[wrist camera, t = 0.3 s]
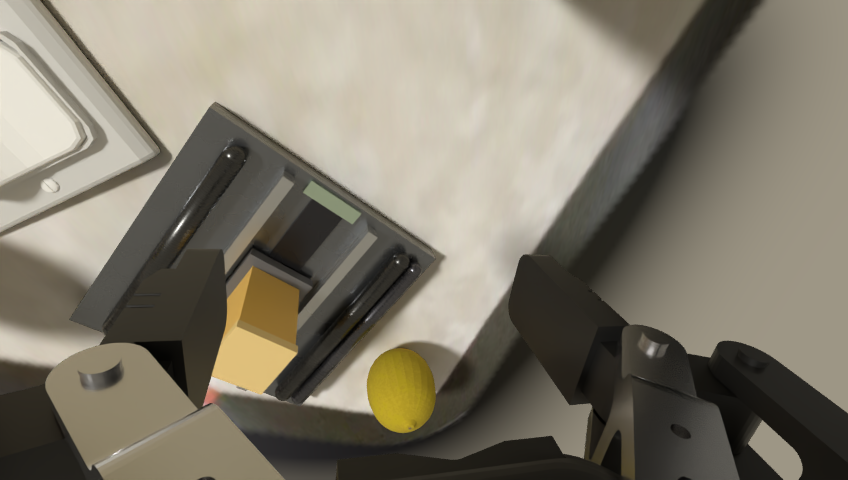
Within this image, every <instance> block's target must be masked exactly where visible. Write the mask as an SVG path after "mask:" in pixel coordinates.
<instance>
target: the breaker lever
mask: <svg viewBox="0 0 848 480" xmlns="http://www.w3.org/2000/svg"><path fill="white" fill-rule="evenodd" d="M312 287H313V281H312V280H310V279H309V278H307V277H305V276H303V275H301V274H299V273H297V272H296V271H294V270H292V269H290V268H288V267H286V266H284V265H283V264H281V263H279V262H277V261H275V260H273V259H271V258H270V257H268V256H266V255H264V254H262V253H260V252H258V251H257V250H255V249H253V248H252V249H251V250H250V251H249V253H248V254H247V255H246V257H245V258H244V259H243V260H242V262H241V263H240V264H239V266H238V267H237V268H236V270H235V271H234V272H233V274H232V275H231V276H230V277H229V279H228V280H227V281H226V293H227V320H226V327H225V331H224V334H223V338H222V341H221V345H220V348H219V352H218V355H217V358H216V362H215V365H214V369H213V372H212V377H215V378H218V379H220V380H223V381H226V382H228V383H231V384H234V385H236V386H239V387H242V388H245V389H247V390H250V391H253V392H255V393H258V394H262V393H263V392H264V391H265V390H266V389H267V388H268V386H269V385H270V384H271V383H272V382H273V381H274V380H275V378H276V377H277V376H278V375H279V374H280V373H281V372H282V370H283V369H284V368H285V367H286V366H287V365H288V364H289V362H290V361H291V360H292V359H293V358H294V357H295V356H296V354H297V353H298V346H297V345H296V334H297V319H298V305H299V302H300V301H301V300H302V299H303V298H304V297H305V295H306V294H307V293H308V292H309V291H310V289H311V288H312Z"/></svg>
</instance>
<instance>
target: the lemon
mask: <svg viewBox="0 0 848 480" xmlns="http://www.w3.org/2000/svg"><path fill="white" fill-rule="evenodd" d="M367 393H368V400H369V403H370V406H371V408H372V411H373V413H374V415H375V417H376V418H377V420H378V421H379V422H380V423H381V424H382V425H383V426H384V427H386V428H387V429H389V430H391V431H395V432H399V433H406V432H411V431H414V430H416V429H418V428H420V427H421V426H422V425H424V424H425V422H426V421H427V420H428V419H429V417H430V416H431V414H432V412H433V409H434V404H435V397H436V392H435V384H434V378H433V375H432V372H431V370H430V368H429V366H428V365H427V363H426V361H425V360H424V359H423V358H422V357H421V356H420V355H419V354H417V353H416V352H414V351H412V350H409V349H405V348H396V349H391V350H388V351H386V352H384V353H383V354H381V355H380V356H379V357H378V358H377V359H376V360H375V361H374V363H373V365H372V366H371V368H370V371H369V375H368V379H367Z"/></svg>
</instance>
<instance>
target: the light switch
mask: <svg viewBox="0 0 848 480" xmlns="http://www.w3.org/2000/svg"><path fill="white" fill-rule="evenodd" d="M159 152H160V150H159V147H158V146H157V145H156V144H155V142H154V141H153V140H152V139H151V137H150V136H149V135H148V134H147V132H146V131H145V130H144V129H143V127H142V126H141V125H140V124H139V122H138V121H137V120H136V119H135V117H134V116H133V115H132V114H131V113H130V111H129V110H128V109H127V108H126V106H125V105H124V104H123V103H122V101H121V100H120V99H119V98H118V96H117V95H116V94H115V93H114V91H113V90H112V89H111V88H110V86H109V85H108V84H107V83H106V82H105V80H104V79H103V78H102V77H101V75H100V74H99V73H98V72H97V70H96V69H95V68H94V67H93V65H92V64H91V63H90V62H89V60H88V59H87V58H86V57H85V55H84V54H83V53H82V52H81V51H80V49H79V48H78V47H77V46H76V44H75V43H74V42H73V41H72V39H71V38H70V37H69V36H68V34H67V33H66V32H65V31H64V29H63V28H62V27H61V26H60V24H59V23H58V22H57V21H56V19H55V18H54V17H53V16H52V15H51V13H50V12H49V11H48V10H47V8H46V7H45V6H44V5H43V3H42V2H41V1H40V0H0V233H1V232H3V231H5V230H7V229H9V228H11V227H13V226H15V225H17V224H19V223H21V222H23V221H25V220H27V219H30V218H32V217H34V216H36V215H38V214H40V213H42V212H44V211H46V210H48V209H50V208H52V207H54V206H56V205H58V204H60V203H62V202H64V201H66V200H69V199H71V198H73V197H75V196H77V195H79V194H81V193H83V192H85V191H87V190H89V189H91V188H93V187H95V186H97V185H99V184H101V183H103V182H106V181H108V180H110V179H112V178H114V177H116V176H118V175H120V174H122V173H124V172H126V171H128V170H130V169H132V168H134V167H136V166H138V165H140V164H143V163H145V162H146V161H148V160H150V159H152V158H154V157H155V156H156V155H157V154H158V153H159Z"/></svg>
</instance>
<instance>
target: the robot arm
mask: <svg viewBox="0 0 848 480" xmlns="http://www.w3.org/2000/svg"><path fill="white" fill-rule="evenodd" d="M508 308H509V315H510V319H511V321H512V322H513V324H514V325H515V327H516V328H517V330H518V331H519V333H520V334H521V336H522V337H523V338H524V340H525V341H526V342H527V344H528V346H529V347H530V348H531V350H532V351H533V353H534V354H535V356H536V357H537V358H538V360H539V361H540V363H541V364H542V366H543V367H544V369H545V370H546V372H547V373H548V375H549V376H550V377H551V379H552V380H553V382H554V383H555V385H556V386H557V388H558V389H559V390H560V392H561V393H562V395H563V396H564V398H565V399H566V401H567V402H568V404H569V405H576V404H587V403H590V404H591V405H592V409H591V411H590V414H589V417H588V424H587V433H586V443H585V452H584V459H583V458H580V457H576V456H571V455H567V454H563V453H562V452H561V450H560V448H559V447H558V445H557V444H556V442H555V440H554V438H553V437H552V436H546V437H538V438H529V439H519V440H510V441H504V442H502V443H499V444H496V445H494V446H491V447H489V448H486V449H484V450H482V451H479V452H477V453H474V454H472V455H469V456H467V457H464V458H462V459H458V460H448V459H439V458H430V457H423V456H415V455H406V454H398V453H395V454H385V455H376V456H367V457H358V458H349V459H340V460H337V468H336V480H783V479H782V478H781V477H780V476H779V475H778V474H777V473H776V472H775V471H774V470H773V469H772V468H771V467H770V466H769V465H768V464H767V463H766V462H765V461H764V460H763V459H762V458H761V457H760V456H759V455H758V454H757V453H756V452H755V451H754V450H753V449H752V448H751V447H750V446H749V445H748V442H749V441H750V439H751V437H752V436H753V434H754V433H755V431H756V429H757V428H758V426H759V424H760V423H761V421H762V420H763V421H764V422H765V423H767V425H769V426H770V427H771V428H772V429H773V430H774V431H775V432H776V433H777V434H778V435H780V436H781V437H782V438H783V439H784V440H785V441H786V442H787V443H788V444H789V445H790V446H792V447H793V448H794V449H795V451H796V452H797V453H798V455H799V457H800V459H801V462H802V466H803V472H802V475H801V477H800V478H799V480H848V413H847V412H845V411H844V410H842V409H841V408H840V407H839V406H837V405H836V404H835V403H833V402H832V401H831V400H829V399H828V398H827V397H825V396H824V395H822V394H821V393H820V392H818V391H817V390H816V389H814V388H813V387H812V386H810V385H809V384H808V383H806V382H805V381H803V380H802V379H801V378H800V377H798V376H797V375H796V374H794V373H793V372H792V371H790V370H789V369H787V368H786V367H785V366H784V365H782V364H781V363H779V362H778V361H777V360H775V359H774V358H773V357H771V356H769V355H768V354H766V353H764V352H762V351H761V350H758V349H756V348H754V347H752V346H749V345H746V344H743V343H739V342H734V341H722V342H719V343H718V344H717V346H716V348H715V350H714V352H713V354H712V356H711V358H709V357H702V356H698V355H692V354H687V353H686V350H685V349H684V347H683V346H682V345H681V344H680V343H679V342H678V341H677V340H675V339H674V338H673V337H671V336H669V335H668V334H666V333H664V332H662V331H659V330H657V329H654V328H652V327H648V326H643V325H629V324H628V323H627V322H626V321H625V320H624V319H623V318H622V317H621V316H620V315H619V314H617V313H616V312H615V311H614V310H613V309H612V308H611V307H610V306H609V305H608V304H607V303H605V302H604V301H601V298H600V297H599V296H598V295H597V294H596V293H595V292H594V293H593V292H592V290H591V289H590V288H589V287H588V286H587V285H586V284H585V283H584V282H582V281H581V280H580V279H578V278H576V277H575V276H573V275H571V274H569V273H568V272H567V271H566V270H565V269H564V268H563V267H562V266H561V265H560V264H559V263H558V262H557V261H556V260H555V259H553V258H552V257H551V256H550V255H523V256H522V257H521V258H520V260H519V263H518V267H517V271H516V275H515V278H514V282H513V286H512V290H511V294H510V298H509V304H508ZM226 320H227V293H226V278H225V262H224V253H223V250H222V249H187V250H186V252H185V253H184V255H183V257H182V259H181V260H180V262H179V264H178V266H177V267H176V269H160V270H158V271H157V272H155V273H154V274H152V275H151V276H149V277H147V278H146V279H144V280H143V281H142V283H141V284H140V286H139V287H138V289H137V290H136V292H135V293H134V296H132V298H131V299H130V301H129V302H128V304H127V305H126V308H124V309H123V311H122V312H121V314H120V315H119V317H118V318H117V320H116V321H115V323H114V324H113V326H112V327H111V329H110V330H109V332H108V333H107V334H106V336H105V337H104V339H103V340H102V342H101V343H100V345H99V346H95V347H92V348H88V349H86V350H83V351H81V352H78V353H76V354H74V355H72V356H70V357H69V358H67V359H65V360H64V361H62V362H61V363H60V364H58V365H57V366H56V367H55V368H54V369H53V370H52V371H51V373H50V374H49V375H48V377H47V380H46V383H45V384H42V385H40V386H36V387H32V388H29V389H24V390H20V391H16V392H12V393H7V394H3V395H0V480H285V479H283V477H282V476H281V475H280V474H279V473H278V472H277V471H276V469H275V468H274V467H273V466H272V465H271V464H270V463H269V462H268V461H267V459H266V458H265V457H264V456H263V455H262V454H261V453H260V452H259V451H258V449H257V448H256V447H255V446H254V445H253V444H252V443H251V442H250V441H249V440H248V439H247V437H246V436H245V435H244V434H243V433H242V432H241V431H240V430H239V428H238V427H237V426H236V425H235V424H234V423H233V422H232V421H231V420H230V419H229V417H228V416H227V415H226V414H225V413H224V412H223V411H222V410H221V409H220V408H219V407H218V406H217V405H215V404H212V403H210V404H207V405H205V406H203V403H204V400H205V396H206V393H207V389H208V386H209V382H210V379H211V376H212V372H213V369H214V365H215V362H216V358H217V355H218V352H219V348H220V345H221V341H222V338H223V334H224V331H225V327H226ZM202 406H203V407H202Z"/></svg>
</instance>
